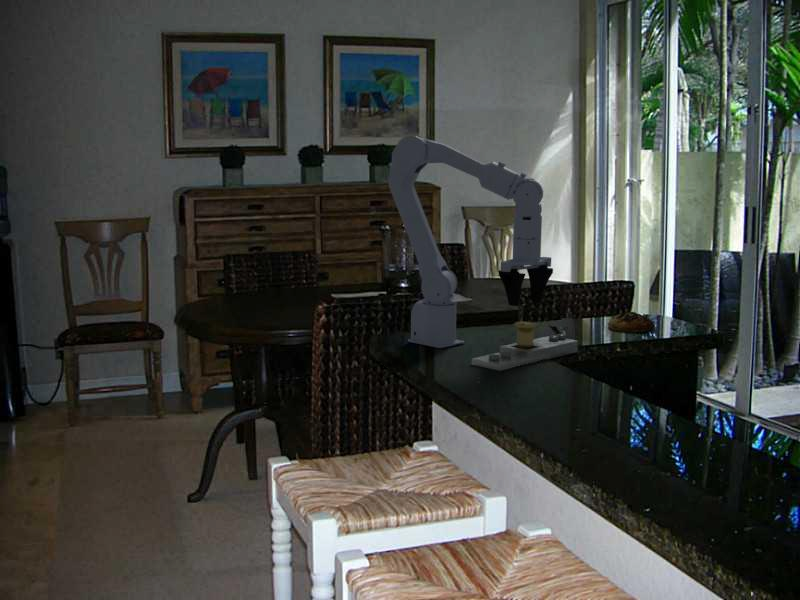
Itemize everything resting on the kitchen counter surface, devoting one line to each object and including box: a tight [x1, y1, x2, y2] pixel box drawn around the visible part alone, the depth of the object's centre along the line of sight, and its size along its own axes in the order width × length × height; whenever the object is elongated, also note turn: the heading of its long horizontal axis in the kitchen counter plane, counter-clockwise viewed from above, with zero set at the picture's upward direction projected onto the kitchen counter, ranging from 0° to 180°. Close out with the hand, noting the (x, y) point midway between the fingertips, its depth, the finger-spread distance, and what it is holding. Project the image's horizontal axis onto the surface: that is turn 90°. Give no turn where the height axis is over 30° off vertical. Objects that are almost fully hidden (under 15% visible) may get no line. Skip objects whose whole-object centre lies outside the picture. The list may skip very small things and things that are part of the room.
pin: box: [514, 321, 538, 350], centre depth 188 cm, size 4×4×7 cm
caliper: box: [548, 312, 574, 340], centre depth 216 cm, size 20×1×6 cm, turn 3°
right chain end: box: [499, 333, 579, 360], centre depth 191 cm, size 7×17×3 cm, turn 135°
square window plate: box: [471, 351, 551, 372], centre depth 185 cm, size 7×16×2 cm, turn 135°
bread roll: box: [607, 311, 656, 334], centre depth 221 cm, size 11×11×5 cm
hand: (525, 303), depth 197 cm, fingers open, 7 cm apart
